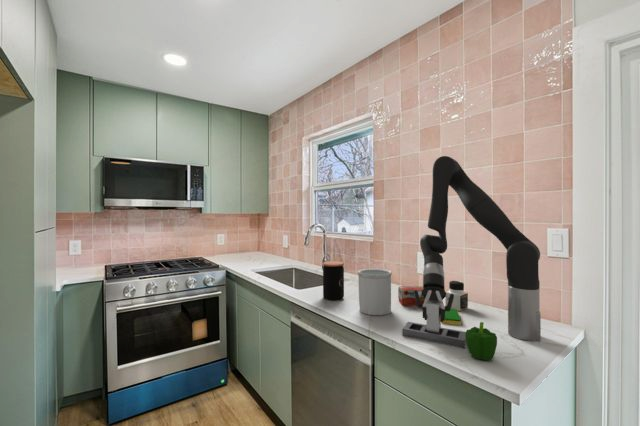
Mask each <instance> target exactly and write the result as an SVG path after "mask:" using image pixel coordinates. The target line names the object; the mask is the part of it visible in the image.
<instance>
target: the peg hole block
mask: <svg viewBox="0 0 640 426" xmlns="http://www.w3.org/2000/svg"><path fill="white" fill-rule="evenodd" d="M465 333H466V331H463V330H456V329H452V328H451V329H450V328H446V327H441V330H440V332H439V333H436V332H430V331H427V324H423V323H417V322H412V321H407V322H406V323H405V325H404V326H403V327H402V328H401V334H402V335H403V337H407V336H408V338H412V339H418V340H422V341H428V342H433V343H437V344H443V345H448V346H451V347H452V346H453V347H457V348H462V349H465V347H466V345H467V343H466V337H465Z"/></svg>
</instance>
